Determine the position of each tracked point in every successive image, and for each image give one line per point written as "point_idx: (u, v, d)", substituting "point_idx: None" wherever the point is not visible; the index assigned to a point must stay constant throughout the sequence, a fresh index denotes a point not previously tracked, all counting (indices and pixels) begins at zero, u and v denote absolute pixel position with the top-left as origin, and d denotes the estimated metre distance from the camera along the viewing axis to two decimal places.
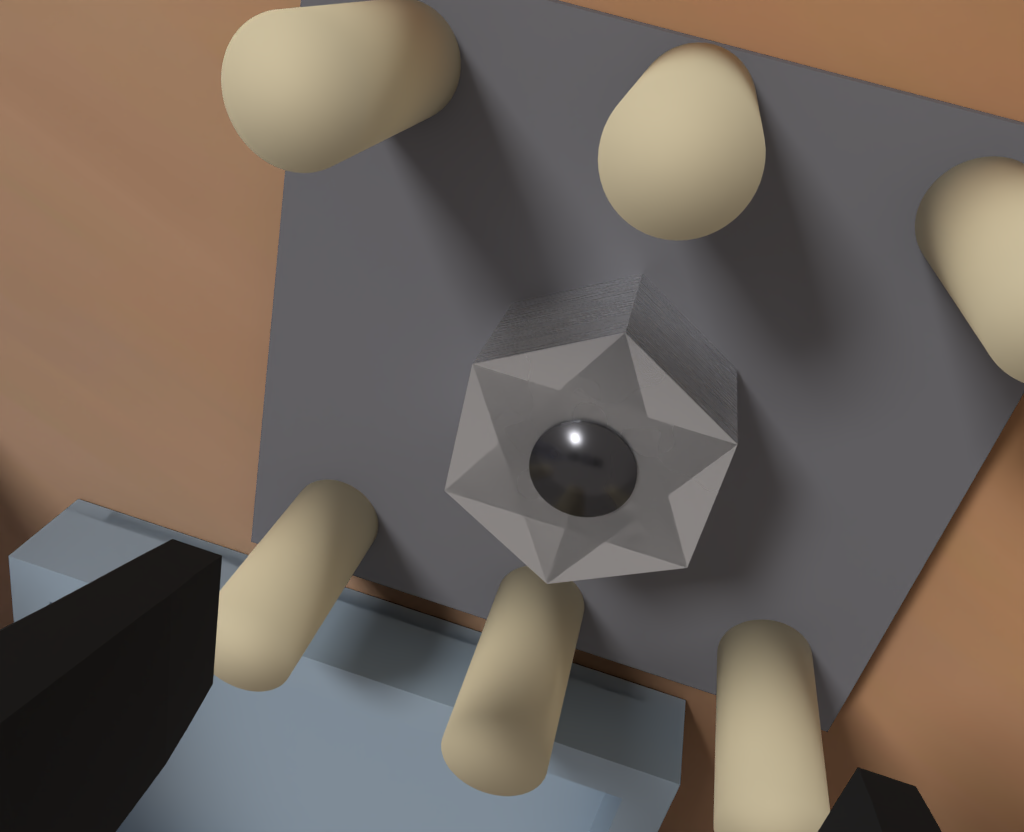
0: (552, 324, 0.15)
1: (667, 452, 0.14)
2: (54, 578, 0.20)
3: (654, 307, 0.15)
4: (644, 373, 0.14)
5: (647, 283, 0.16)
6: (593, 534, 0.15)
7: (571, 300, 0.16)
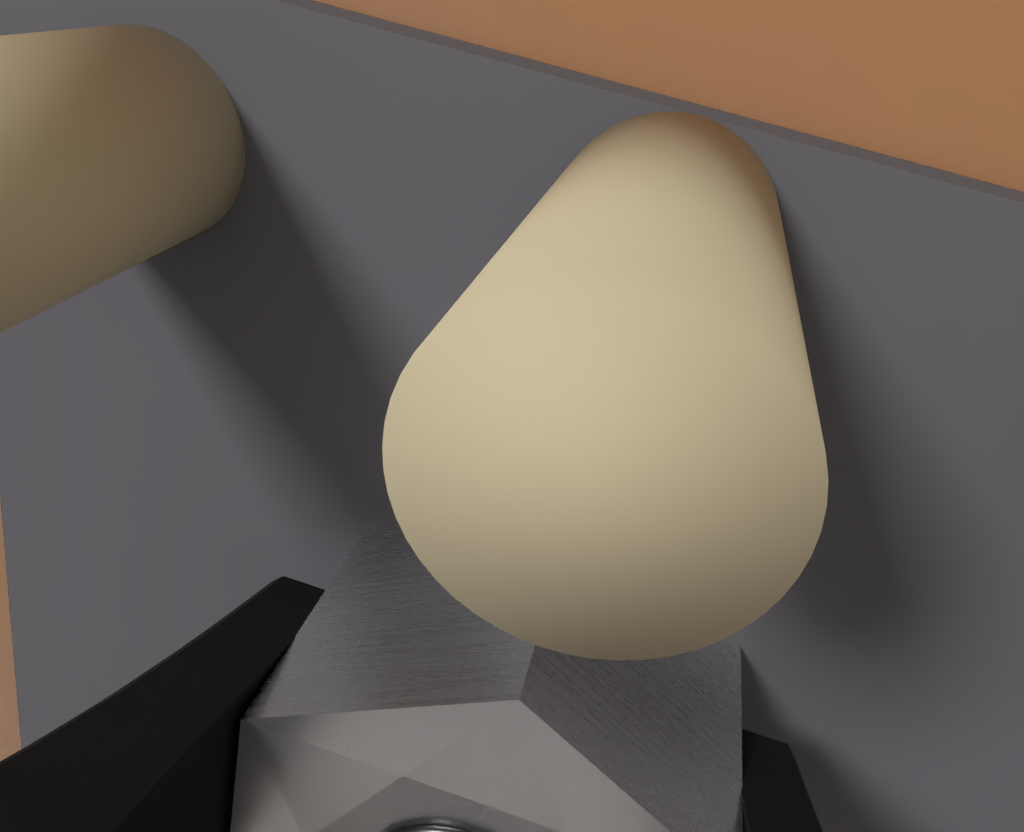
0: (404, 620, 0.08)
1: None
2: None
3: None
4: (560, 767, 0.07)
5: None
6: None
7: None
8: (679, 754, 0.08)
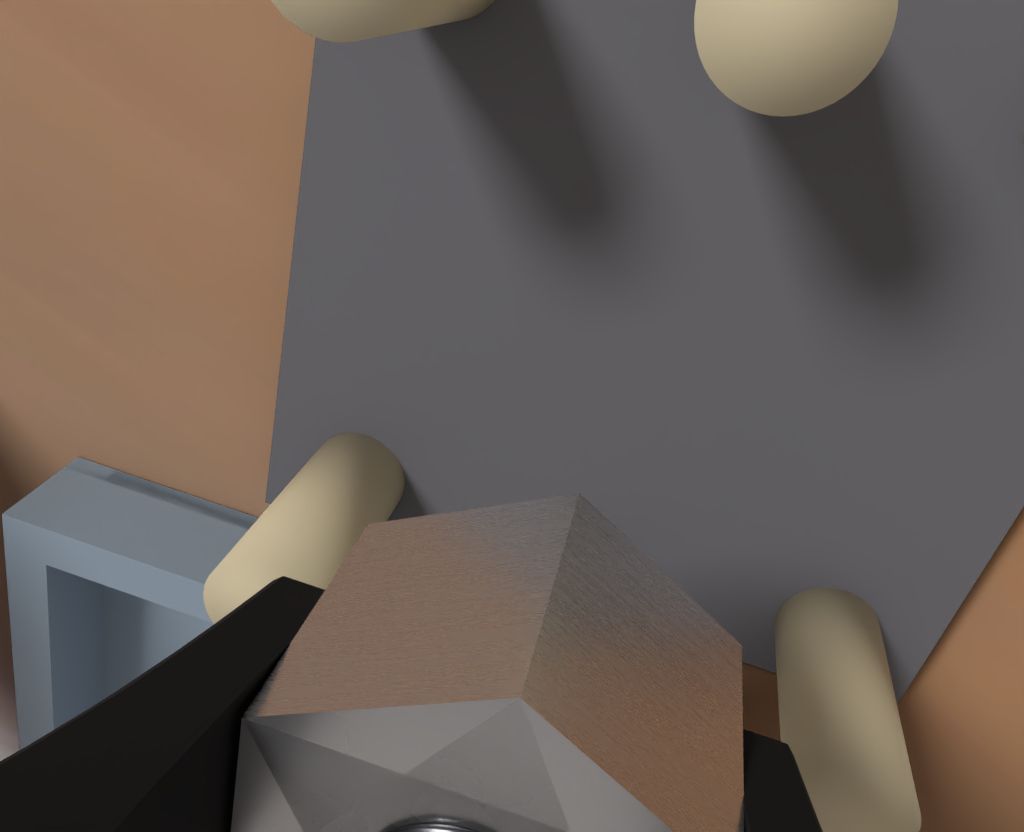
0: (405, 618, 0.08)
1: None
2: (51, 539, 0.19)
3: (594, 576, 0.09)
4: (561, 766, 0.07)
5: (586, 515, 0.09)
6: None
7: (454, 548, 0.09)
8: (680, 752, 0.08)
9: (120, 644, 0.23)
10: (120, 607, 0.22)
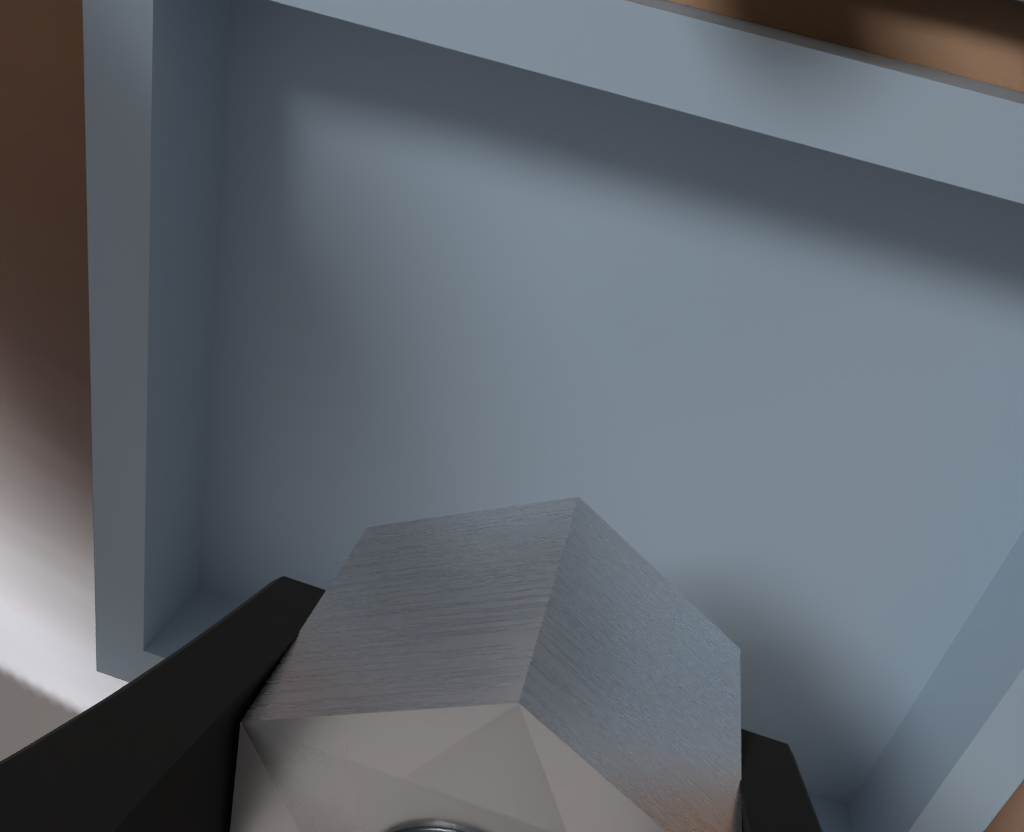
0: (404, 622, 0.08)
1: None
2: None
3: (593, 580, 0.09)
4: (560, 771, 0.07)
5: (585, 519, 0.09)
6: None
7: (452, 552, 0.09)
8: (678, 757, 0.08)
9: (243, 238, 0.15)
10: (248, 163, 0.14)
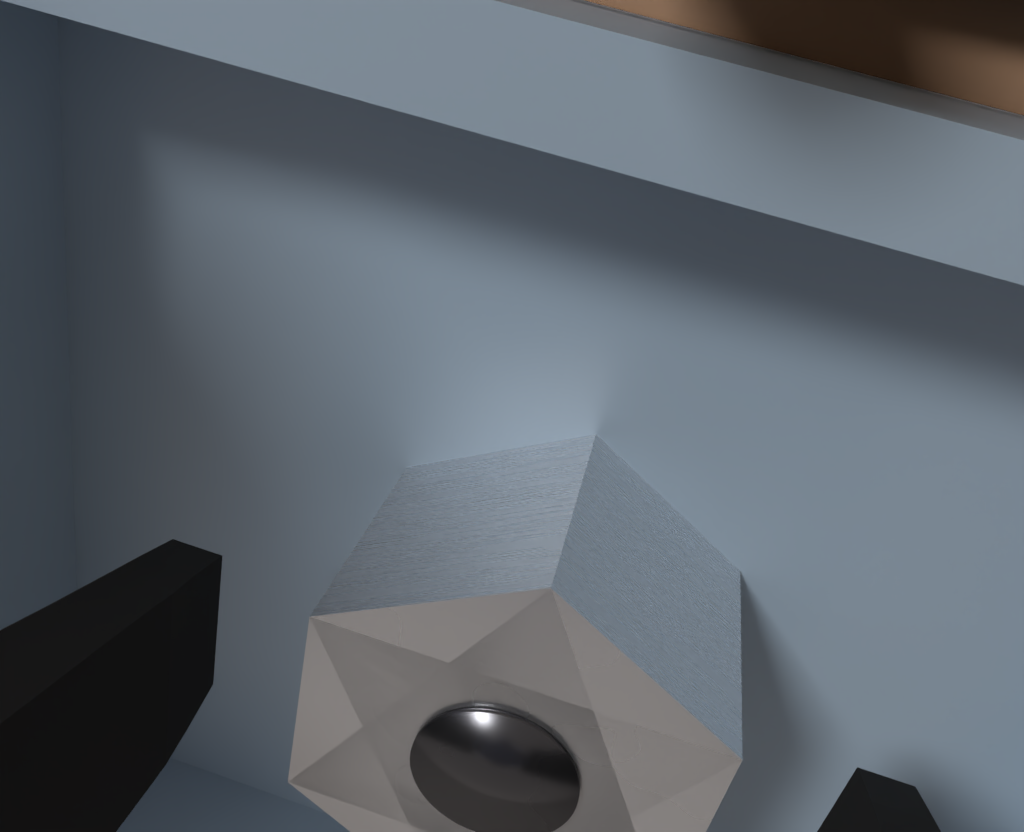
0: (447, 536, 0.09)
1: (627, 761, 0.09)
2: None
3: (610, 502, 0.10)
4: (587, 649, 0.08)
5: (602, 453, 0.10)
6: None
7: (485, 482, 0.10)
8: (686, 647, 0.09)
9: (100, 322, 0.11)
10: (98, 227, 0.11)
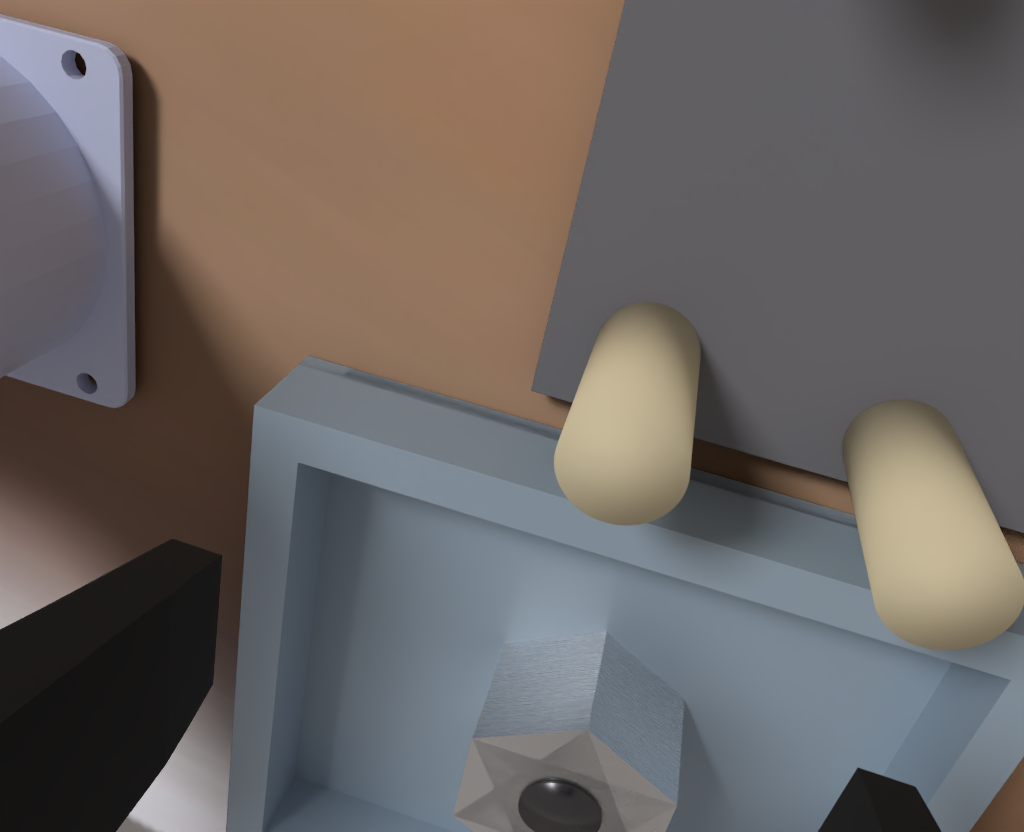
0: (534, 694, 0.19)
1: (624, 805, 0.18)
2: (308, 431, 0.17)
3: (614, 673, 0.19)
4: (604, 755, 0.18)
5: (610, 643, 0.20)
6: None
7: (550, 659, 0.20)
8: (652, 750, 0.19)
9: (338, 566, 0.21)
10: (343, 524, 0.21)
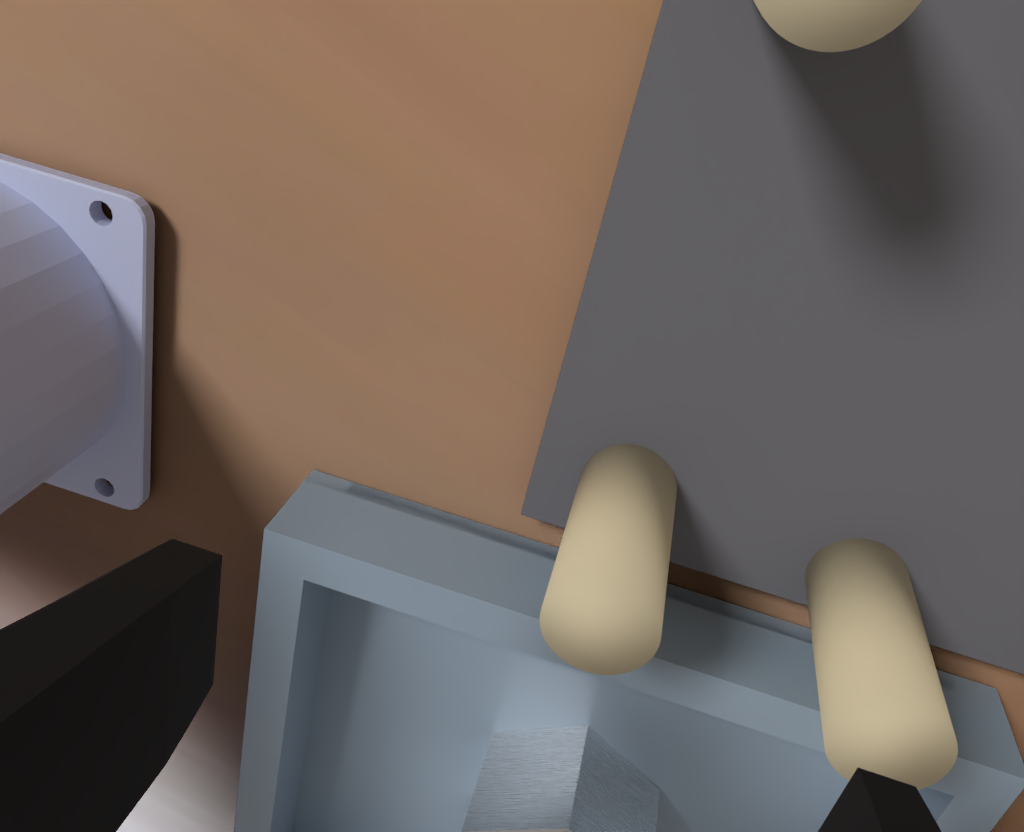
0: (519, 788, 0.21)
1: None
2: (314, 553, 0.18)
3: (594, 767, 0.21)
4: None
5: (591, 737, 0.21)
6: None
7: (535, 751, 0.21)
8: None
9: (338, 657, 0.23)
10: (343, 620, 0.22)
